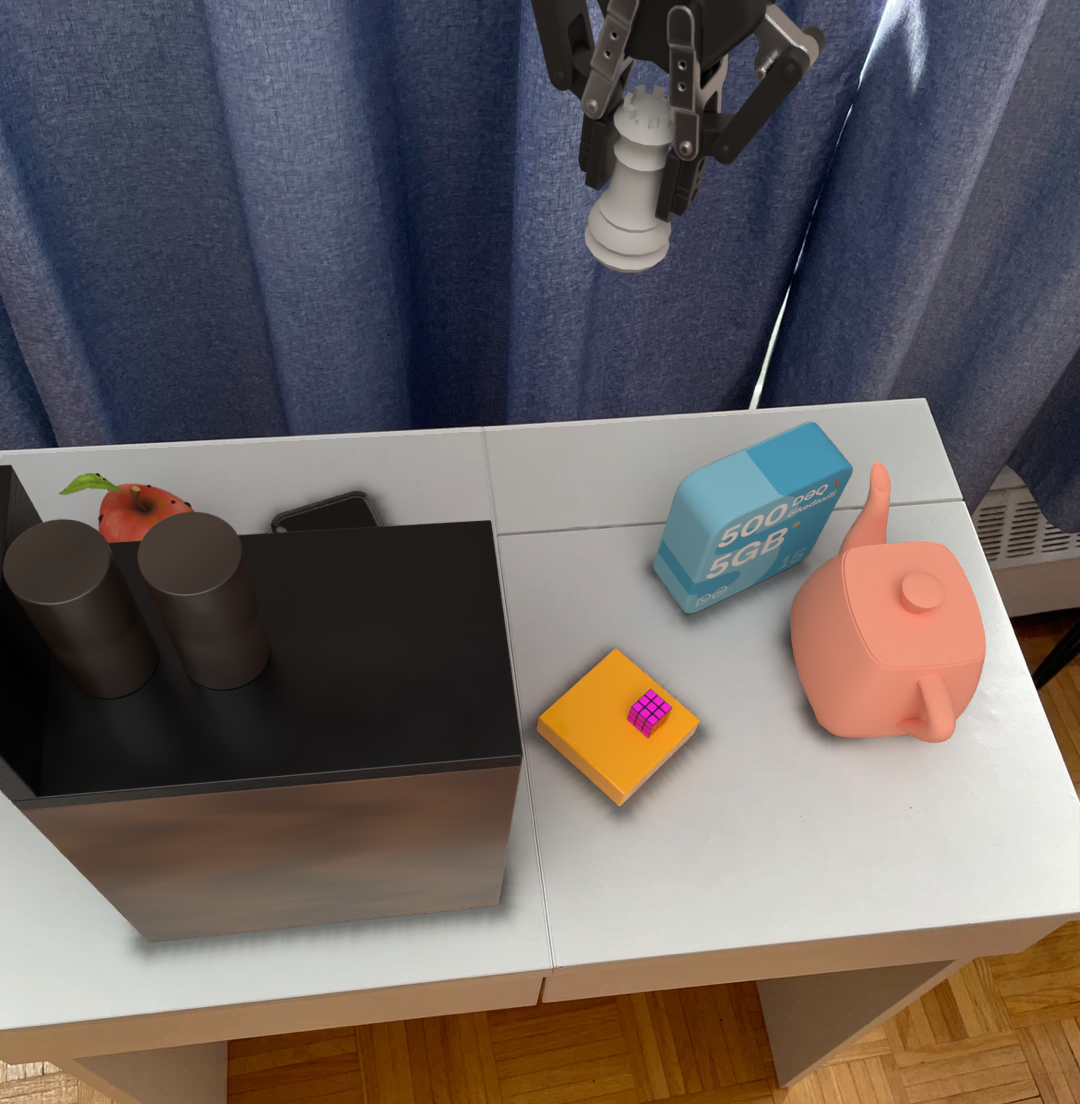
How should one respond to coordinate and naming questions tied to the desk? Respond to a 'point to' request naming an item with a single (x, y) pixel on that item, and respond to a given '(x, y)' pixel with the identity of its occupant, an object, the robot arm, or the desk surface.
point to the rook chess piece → (634, 187)
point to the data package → (749, 515)
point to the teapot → (887, 633)
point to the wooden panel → (293, 852)
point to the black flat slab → (279, 675)
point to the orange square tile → (617, 726)
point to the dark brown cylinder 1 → (82, 607)
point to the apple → (129, 507)
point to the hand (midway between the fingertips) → (635, 194)
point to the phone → (330, 514)
